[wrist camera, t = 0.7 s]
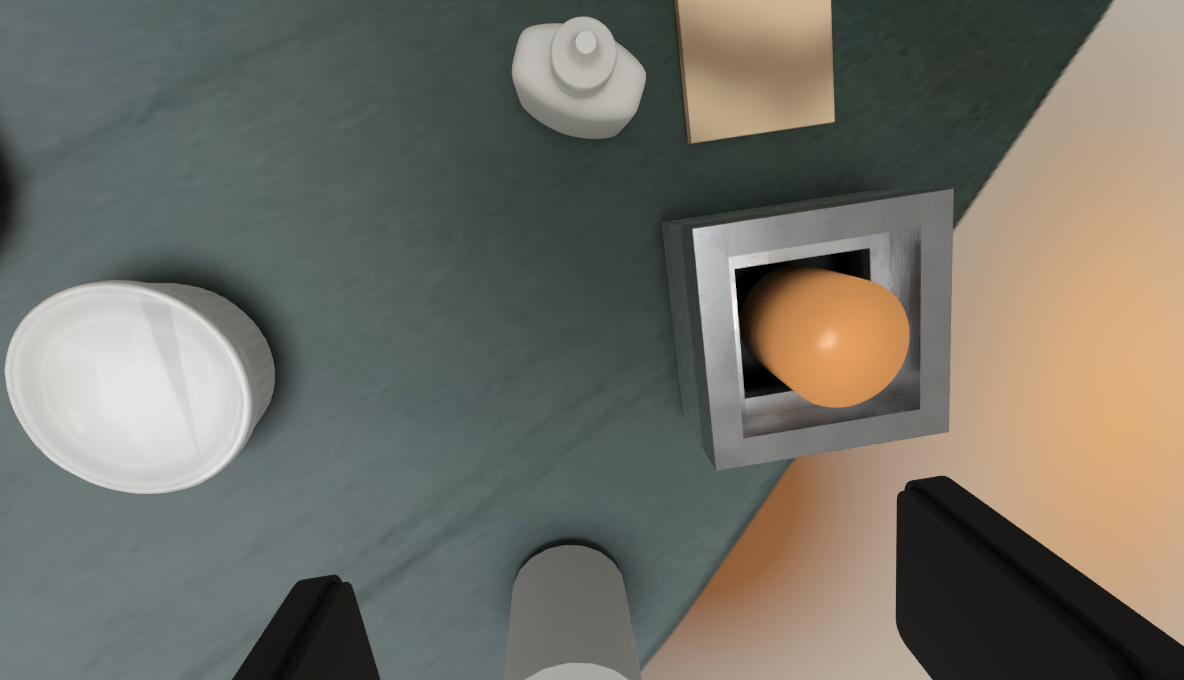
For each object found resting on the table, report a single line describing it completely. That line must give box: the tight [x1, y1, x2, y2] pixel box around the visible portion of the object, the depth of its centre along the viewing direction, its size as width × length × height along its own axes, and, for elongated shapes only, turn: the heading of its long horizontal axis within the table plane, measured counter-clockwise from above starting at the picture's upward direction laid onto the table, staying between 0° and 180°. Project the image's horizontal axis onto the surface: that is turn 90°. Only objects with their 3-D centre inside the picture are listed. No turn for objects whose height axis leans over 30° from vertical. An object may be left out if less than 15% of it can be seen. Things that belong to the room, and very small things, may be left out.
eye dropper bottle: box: [512, 16, 646, 139], centre depth 24 cm, size 4×6×12 cm
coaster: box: [674, 0, 835, 144], centre depth 30 cm, size 8×8×1 cm
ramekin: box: [5, 280, 275, 494], centre depth 30 cm, size 11×11×5 cm
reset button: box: [740, 264, 910, 408], centre depth 28 cm, size 6×6×6 cm
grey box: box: [661, 189, 954, 471], centre depth 30 cm, size 12×12×8 cm
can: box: [503, 545, 642, 680], centre depth 32 cm, size 8×8×12 cm
